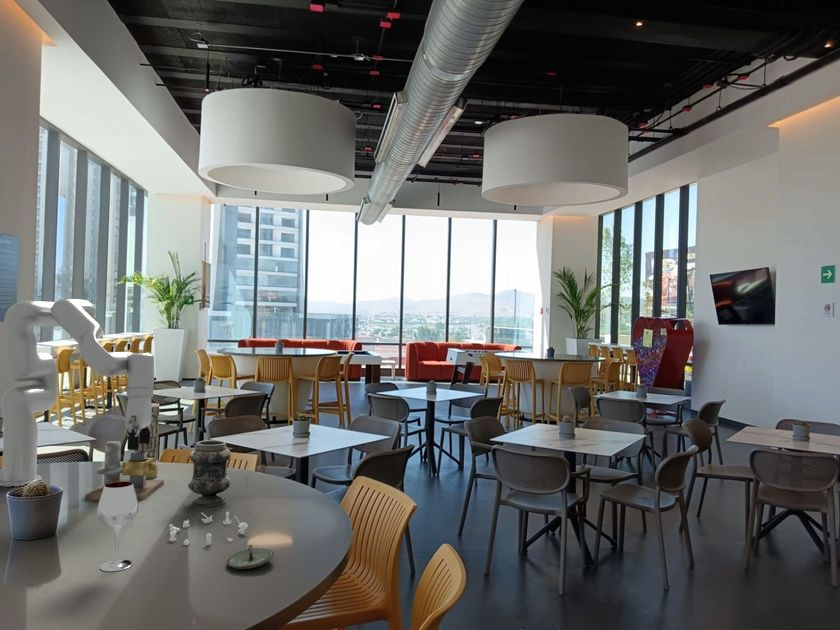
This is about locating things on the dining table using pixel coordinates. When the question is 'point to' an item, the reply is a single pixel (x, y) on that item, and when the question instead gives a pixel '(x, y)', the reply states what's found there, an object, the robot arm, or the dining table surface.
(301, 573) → the dining table surface
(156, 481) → the board
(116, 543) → the wineglass
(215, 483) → the apothecary jar
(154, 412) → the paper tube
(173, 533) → the game piece set
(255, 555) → the lid
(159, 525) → the dining table surface
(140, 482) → the grey rectangular bar
